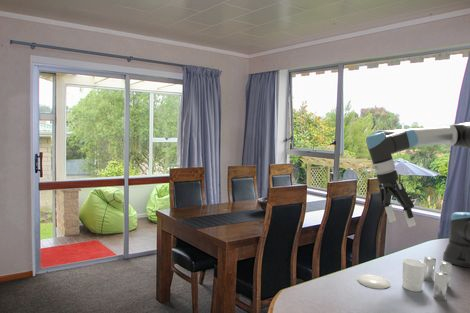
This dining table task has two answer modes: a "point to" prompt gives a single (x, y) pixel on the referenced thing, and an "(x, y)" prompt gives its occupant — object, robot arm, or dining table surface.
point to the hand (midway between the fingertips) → (402, 223)
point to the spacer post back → (446, 270)
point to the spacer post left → (429, 269)
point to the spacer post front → (440, 286)
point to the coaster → (373, 281)
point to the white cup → (413, 274)
